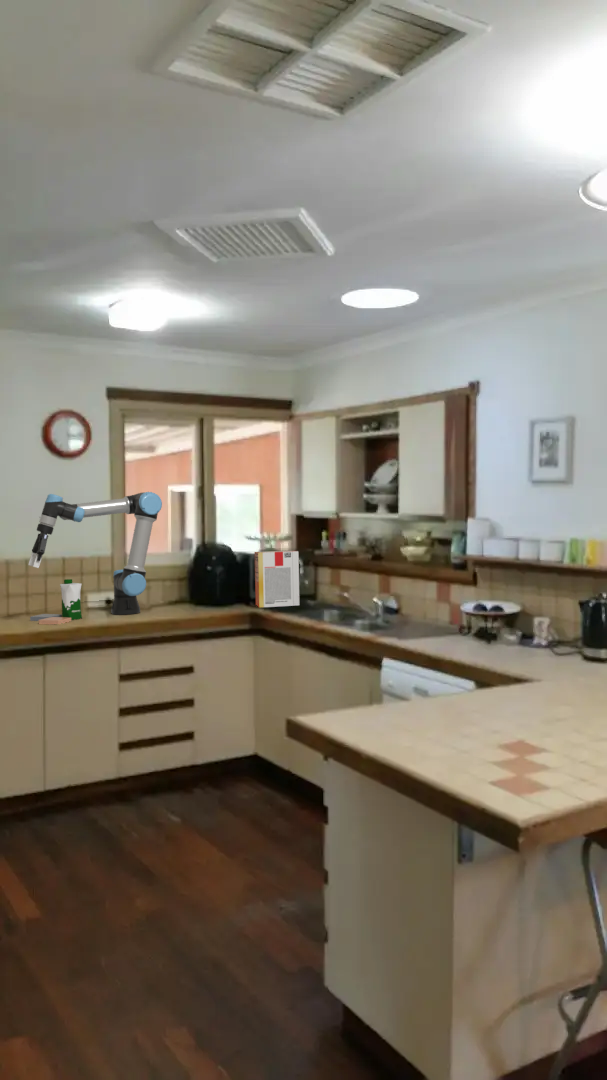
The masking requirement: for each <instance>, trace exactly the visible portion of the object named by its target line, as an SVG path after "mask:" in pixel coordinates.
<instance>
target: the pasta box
mask: <svg viewBox="0 0 607 1080" xmlns="http://www.w3.org/2000/svg"><path fill="white" fill-rule="evenodd" d="M299 563H300V559H299V550H275V551H274V550H271V551H254V578H255V579H254V581H255V582H254V583H255V585H254V586H255V606H256V605H257V606H258V607H257V606H256V607H257V608H259V609H260V608H275V607H291V606H292V607H293V606H300V568H299V567H300V565H299Z"/></svg>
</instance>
